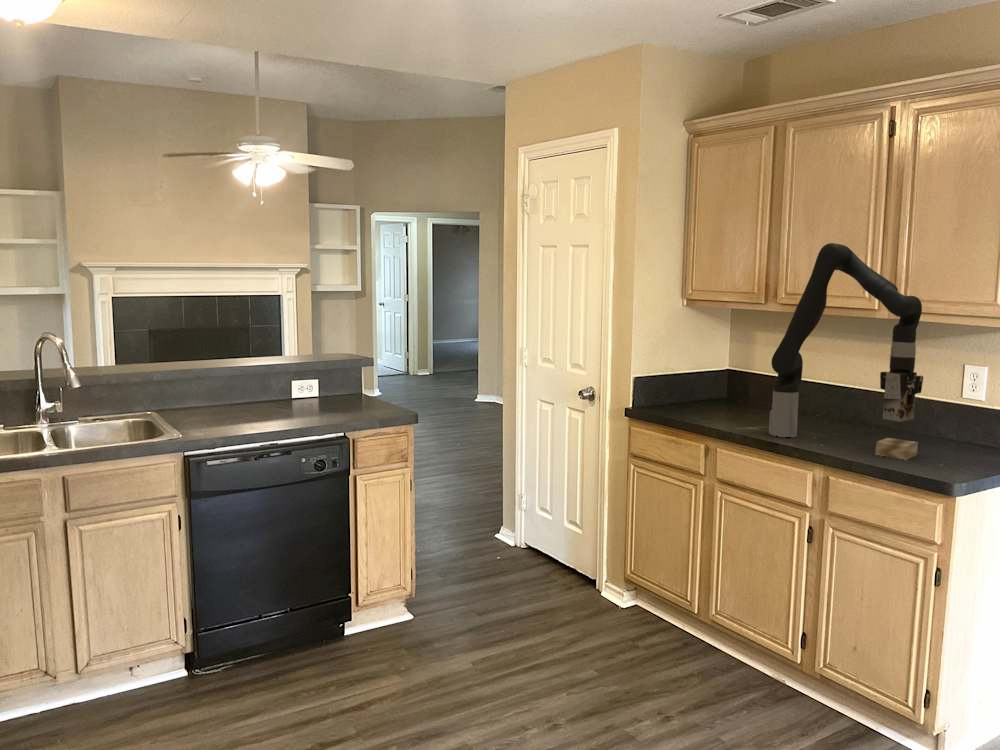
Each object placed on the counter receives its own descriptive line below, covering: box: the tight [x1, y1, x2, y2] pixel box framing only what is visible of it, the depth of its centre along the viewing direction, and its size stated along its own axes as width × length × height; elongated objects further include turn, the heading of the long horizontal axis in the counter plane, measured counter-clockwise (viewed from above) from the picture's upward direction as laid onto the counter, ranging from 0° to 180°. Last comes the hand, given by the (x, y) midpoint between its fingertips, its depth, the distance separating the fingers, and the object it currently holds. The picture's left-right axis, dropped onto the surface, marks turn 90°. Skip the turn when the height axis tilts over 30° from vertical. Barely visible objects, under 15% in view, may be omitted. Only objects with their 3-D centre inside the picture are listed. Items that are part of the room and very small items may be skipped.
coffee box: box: [882, 371, 918, 423], centre depth 266 cm, size 9×6×16 cm
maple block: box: [874, 437, 919, 461], centre depth 268 cm, size 10×10×5 cm
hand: (899, 403), depth 266 cm, fingers closed on coffee box, 6 cm apart
